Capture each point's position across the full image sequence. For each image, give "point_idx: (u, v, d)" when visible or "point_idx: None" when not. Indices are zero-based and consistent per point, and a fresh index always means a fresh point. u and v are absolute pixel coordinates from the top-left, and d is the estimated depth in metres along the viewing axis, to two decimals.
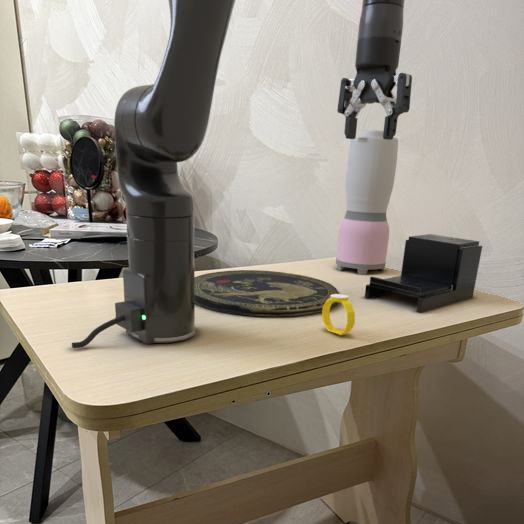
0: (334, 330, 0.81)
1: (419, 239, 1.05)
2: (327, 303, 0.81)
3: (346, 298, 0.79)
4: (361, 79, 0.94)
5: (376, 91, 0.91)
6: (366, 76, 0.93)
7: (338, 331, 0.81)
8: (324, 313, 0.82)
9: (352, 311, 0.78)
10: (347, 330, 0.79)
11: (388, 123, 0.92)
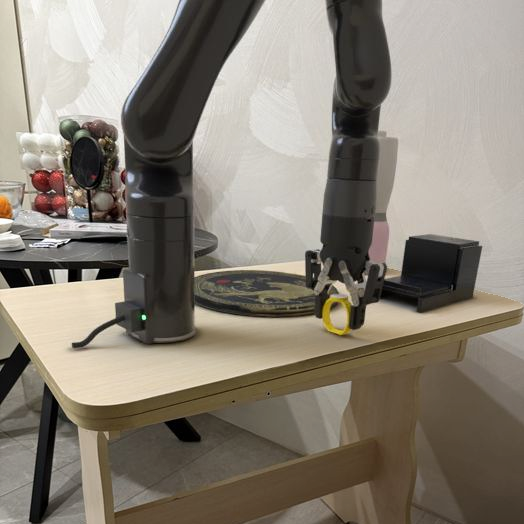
0: (334, 330, 0.81)
1: (419, 239, 1.05)
2: (327, 303, 0.81)
3: (346, 298, 0.79)
4: (328, 253, 0.78)
5: (344, 274, 0.76)
6: (334, 252, 0.77)
7: (338, 331, 0.81)
8: (324, 313, 0.82)
9: None
10: (347, 330, 0.79)
11: (355, 313, 0.77)
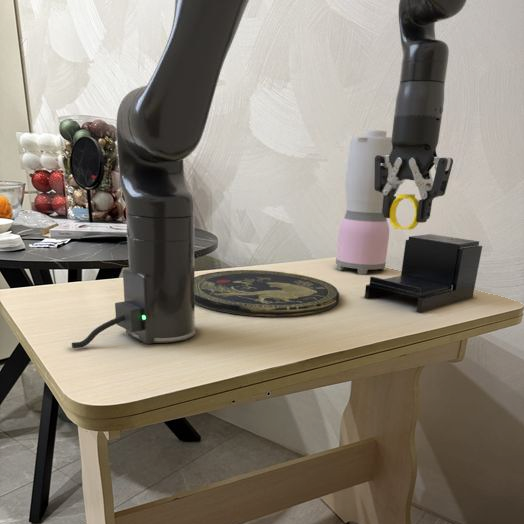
0: (401, 227, 0.91)
1: (419, 239, 1.05)
2: (394, 203, 0.91)
3: (413, 195, 0.88)
4: (397, 154, 0.88)
5: (413, 170, 0.85)
6: (403, 153, 0.87)
7: (405, 227, 0.90)
8: (391, 213, 0.92)
9: None
10: (414, 224, 0.89)
11: (422, 207, 0.87)
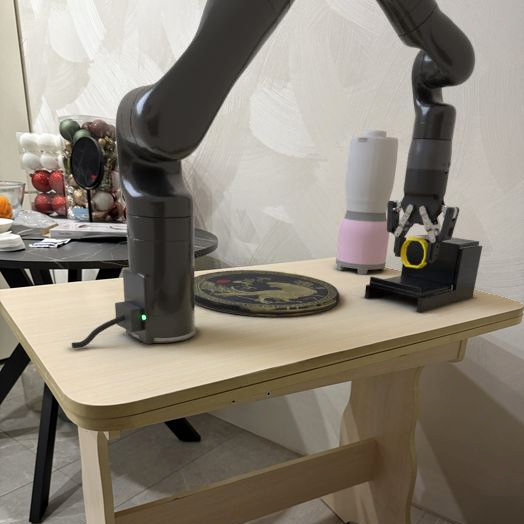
0: (411, 265, 1.00)
1: None
2: (405, 243, 1.00)
3: (423, 238, 0.98)
4: (408, 201, 0.97)
5: (423, 217, 0.95)
6: (414, 200, 0.96)
7: (415, 266, 1.00)
8: (402, 252, 1.01)
9: None
10: (423, 264, 0.98)
11: (431, 249, 0.96)
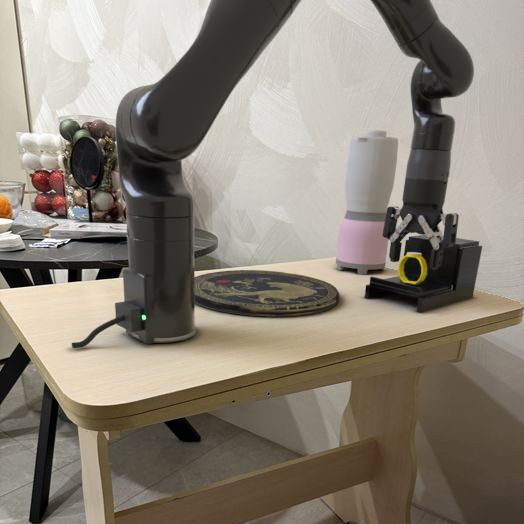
0: (408, 281, 1.01)
1: (419, 239, 1.05)
2: (403, 259, 1.01)
3: (420, 254, 0.99)
4: (408, 211, 0.98)
5: (423, 226, 0.95)
6: (413, 210, 0.97)
7: (412, 282, 1.01)
8: (400, 268, 1.02)
9: (425, 264, 0.98)
10: (421, 280, 0.99)
11: (434, 256, 0.96)
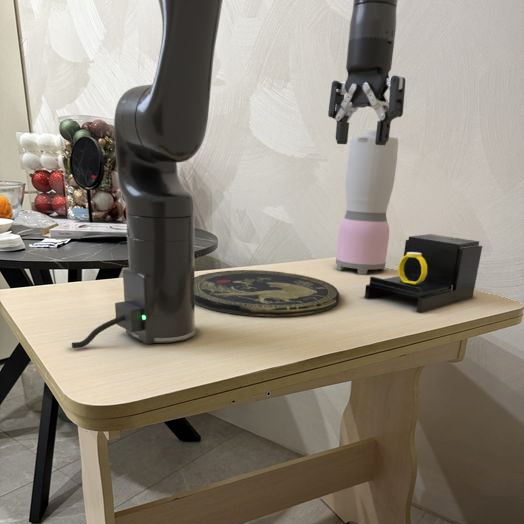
0: (408, 281, 1.01)
1: (419, 239, 1.05)
2: (403, 259, 1.01)
3: (420, 254, 0.99)
4: (352, 82, 0.89)
5: (368, 95, 0.87)
6: (358, 79, 0.88)
7: (412, 282, 1.01)
8: (400, 268, 1.02)
9: (425, 264, 0.98)
10: (421, 280, 0.99)
11: (381, 128, 0.87)
